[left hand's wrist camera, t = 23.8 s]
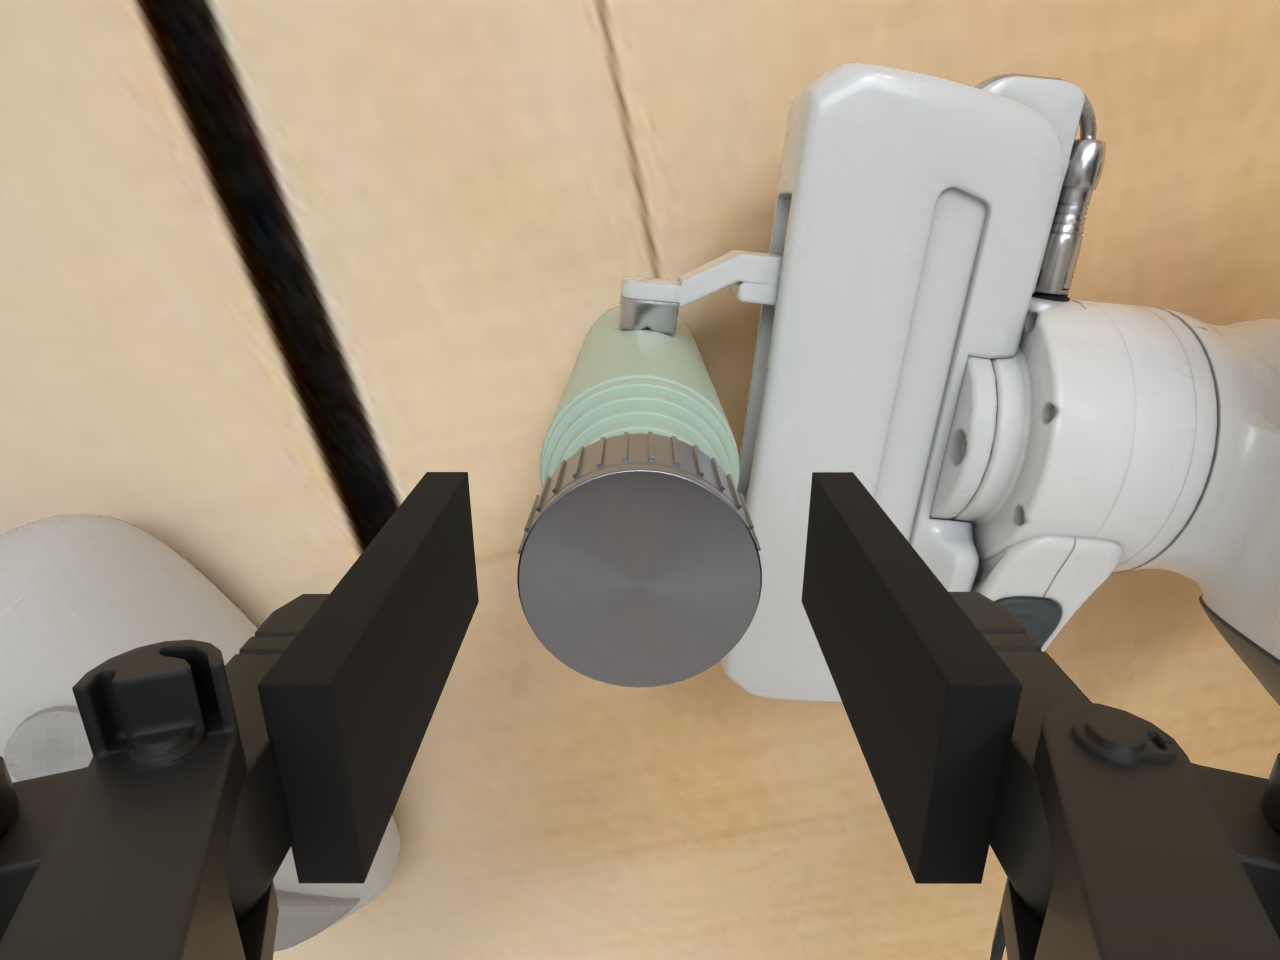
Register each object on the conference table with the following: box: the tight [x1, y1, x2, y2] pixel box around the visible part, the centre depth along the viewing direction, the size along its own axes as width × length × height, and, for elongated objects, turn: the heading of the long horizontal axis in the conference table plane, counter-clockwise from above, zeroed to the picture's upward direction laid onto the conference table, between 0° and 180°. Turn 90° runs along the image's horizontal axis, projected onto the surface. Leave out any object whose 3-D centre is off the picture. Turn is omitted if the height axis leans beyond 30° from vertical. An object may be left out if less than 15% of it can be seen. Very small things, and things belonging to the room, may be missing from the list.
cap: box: [517, 431, 762, 687], centre depth 13 cm, size 4×4×2 cm
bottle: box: [540, 306, 740, 490], centre depth 22 cm, size 5×5×18 cm
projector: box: [0, 514, 401, 951], centre depth 29 cm, size 22×23×15 cm
